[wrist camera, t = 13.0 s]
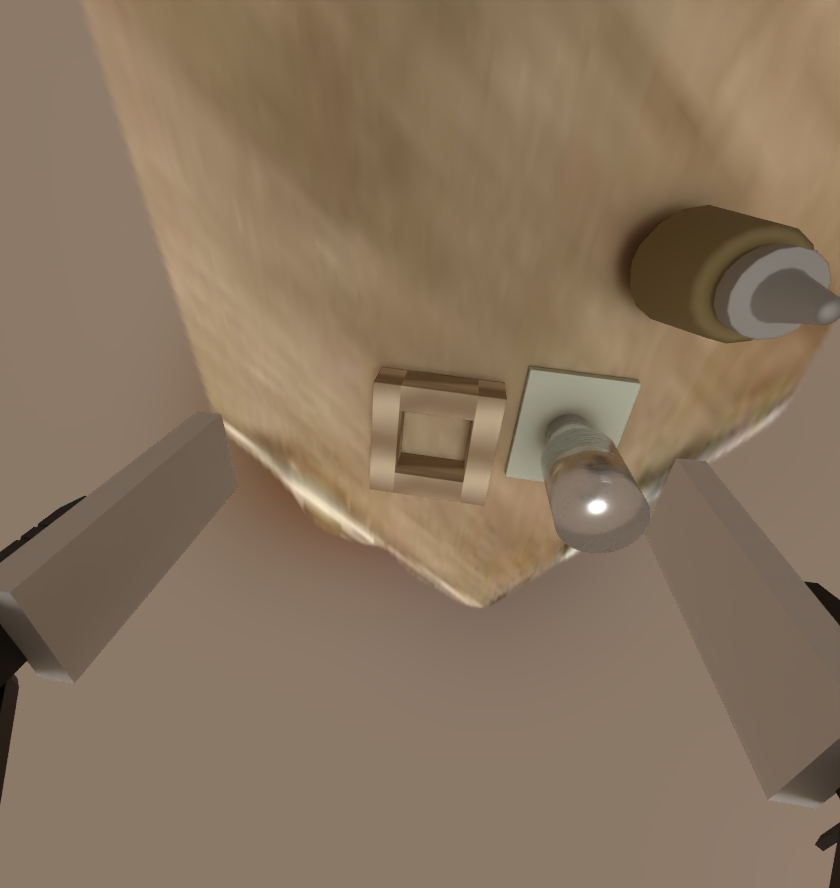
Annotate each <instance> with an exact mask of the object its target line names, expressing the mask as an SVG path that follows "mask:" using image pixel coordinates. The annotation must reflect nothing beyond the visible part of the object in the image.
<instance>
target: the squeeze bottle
mask: <svg viewBox="0 0 840 888" xmlns="http://www.w3.org/2000/svg"><path fill="white" fill-rule="evenodd" d="M830 281H831V276H830V271H829V265H828V262H827V261H826V260H825V259H824V258H823V257H822V256H821V255H820V254H819V252H818V251H816V250H814V246H813V244H812V243H811V242H810V241H809V239H808V238H807V237H806V236H805V235H804V234H803V233H802V232H801V231H800V230H799V229H797V228H794V227H790V226H786V225H783V224H779V223H775V222H772V221H768V220H764V219H760V218H756V217H753V216H749V215H745V214H741V213H737V212H734V211H730V210H726V209H722V208H719V207H715V206H711V205H706V206H700V207H694V208H688V209H684V210H682V211H680V212H678V213H676V214H675V215H673V216H671V217H669V218H668V219H666V220H664V221H662V222H661V223H659V225H658V226H657V227H656V228H655V229H654V230H653V231H652V232H651V233H650V234H649V235H648V236H647V238H646V239H645V240H644V241H643V242H642V243H641V244H640V245H639V247H638V249H637V251H636V253H635V255H634V258H633V260H632V264H631V276H630V290H631V293H632V295H633V298H634V301H635V303H636V306H637V307H638V308H639V309H640V310H641V311H643V312H644V313H645V314H646V315H647V316H648V317H649V318H650V319H653V320H656V321H659V322H662V323H665V324H668V325H671V326H673V327H676V328H679V329H682V330H685V331H688V332H691V333H694V334H697V335H700V336H703V337H706V338H709V339H713V340H716V341H720V342H724V343H734V342H743V341H751V340H753V339H755V340H763V339H772V338H777V337H780V336H782V335H784V334H787V333H789V332H791V331H794V330H796V329H797V328H798V327H800V326H801V325H802V324H813V325H826V324H830V323H833V322H835V321H836V320H838V319H839V318H840V297H838V296H837V295H835V294H834V293H833V292H831V291H830V290H828V288H829V285H830Z"/></svg>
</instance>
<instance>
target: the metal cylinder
mask: <svg viewBox="0 0 840 888" xmlns="http://www.w3.org/2000/svg"><path fill="white" fill-rule="evenodd" d="M545 440H546V443H547V446H546V447H545V449H544V451H543V453H542V456H541V470H542V474H543V478H544V483H545V487H546V491H547V495H548V500H549V504H550V508H551V512H552V516H553V521H554V525H555V529H556V532H557V534H558V535H559V537H560V538H561V539H562V540H563V541H564V542H565V543H566V544H567V545H569V546H570V547H572V548H574V549H577V550H579V551H583V552H588V553H607V552H612V551H616V550H619V549H621V548H624V547H626V546H628V545H630V544H632V543H633V542H634V541H636V540H637V539H638V538H639V537H640V536H641V535H642V534H643V533H644V531H645V530H646V528H647V526H648V524H649V521H650V508H649V505H648V503H647V501H646V499H645V497H644V495H643V494H642V492H641V490H640V488H639V487H638V485H637V483H636V481H635V480H634V478H633V476H632V474H631V472H630V471H629V469H628V467H627V465H626V464H625V462H624V460H623V458H622V457H621V455H620V453H619V451H618V449H617V448H616V446H615V444H614V442H613V441H612V440H611V439H610V438H609V437H608V436H607V435H605V434H604V433H602V432H600V431H597V430H594V429H592V427H591V425H590V424H589V422H588V421H587V420H586V419H585V418H584V417H582V416H580V415H577V414H564V415H561V416H559V417H557V418H555V419H554V420H552V421H551V422H550V423H549V425H548V426H547V428H546V431H545Z"/></svg>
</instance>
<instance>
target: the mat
mask: <svg viewBox="0 0 840 888" xmlns="http://www.w3.org/2000/svg"><path fill="white" fill-rule="evenodd" d="M640 386H641V383H640V382H639V381H638V380H635V379H628V378H620V377H612V376H604V375H596V374H588V373H580V372H573V371H565V370H557V369H549V368H541V367H533V366H530V367H529V371H528V375H527V379H526V384H525V388H524V392H523V397H522V401H521V405H520V409H519V414H518V418H517V422H516V427H515V431H514V435H513V439H512V444H511V448H510V452H509V456H508V461H507V465H506V469H505V476H506V477H513V478H520V479H527V480H534V481H541V482H544V478H543V474H542V470H541V456H542V453H543V451H544V449H545V447H546V446H547V443H546V440H545V431H546V428H547V426H548V425H549V423H550V422H551V421H552V420H554V419H555V418H557V417H559V416H561V415H564V414H577V415H580V416H582V417H584V418H585V419H586V420H587V421H588V422H589V424H590V425H591V427H592V429H594V430H597V431H600V432H602V433H604V434H605V435H607V436H608V437H609V438H610V439H611V440H612V441H613V442H614V444H615V446H616V448H617V446H618V444H619V441H620V438H621V436H622V433H623V431H624V428H625V425H626V423H627V420H628V418H629V415H630V412H631V410H632V407H633V405H634V402H635V399H636V397H637V394H638V392H639V389H640Z"/></svg>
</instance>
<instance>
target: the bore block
mask: <svg viewBox="0 0 840 888" xmlns="http://www.w3.org/2000/svg"><path fill="white" fill-rule="evenodd" d="M506 401H507V398H506V391H505V384H504V383H500V382H492V381H485V380H477V379H469V378H462V377H454V376H446V375H438V374H431V373H423V372H415V371H408V370H400V369H392V368H385V367H382V369H381V371H380V372H379V374H378V376H377V377H376V379H375V381H374V388H373V414H372V441H371V467H370V489H373V490H380V491H387V492H393V493H400V494H407V495H414V496H420V497H427V498H434V499H441V500H448V501H454V502H461V503H468V504H475V505H481V506H484V504H485V499H486V494H487V490H488V485H489V480H490V475H491V471H492V466H493V461H494V457H495V452H496V447H497V443H498V438H499V433H500V429H501V424H502V419H503V415H504V410H505V405H506ZM404 411H405V412H413V413H420V414H427V415H435V416H442V417H449V418H457V419H464V420H471V427H470V432H469V438H468V444H467V450H466V456H465V461H457V460H450V459H443V458H436V457H429V456H422V455H414V454H407V453H401V445H402V433H403V420H404Z"/></svg>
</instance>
